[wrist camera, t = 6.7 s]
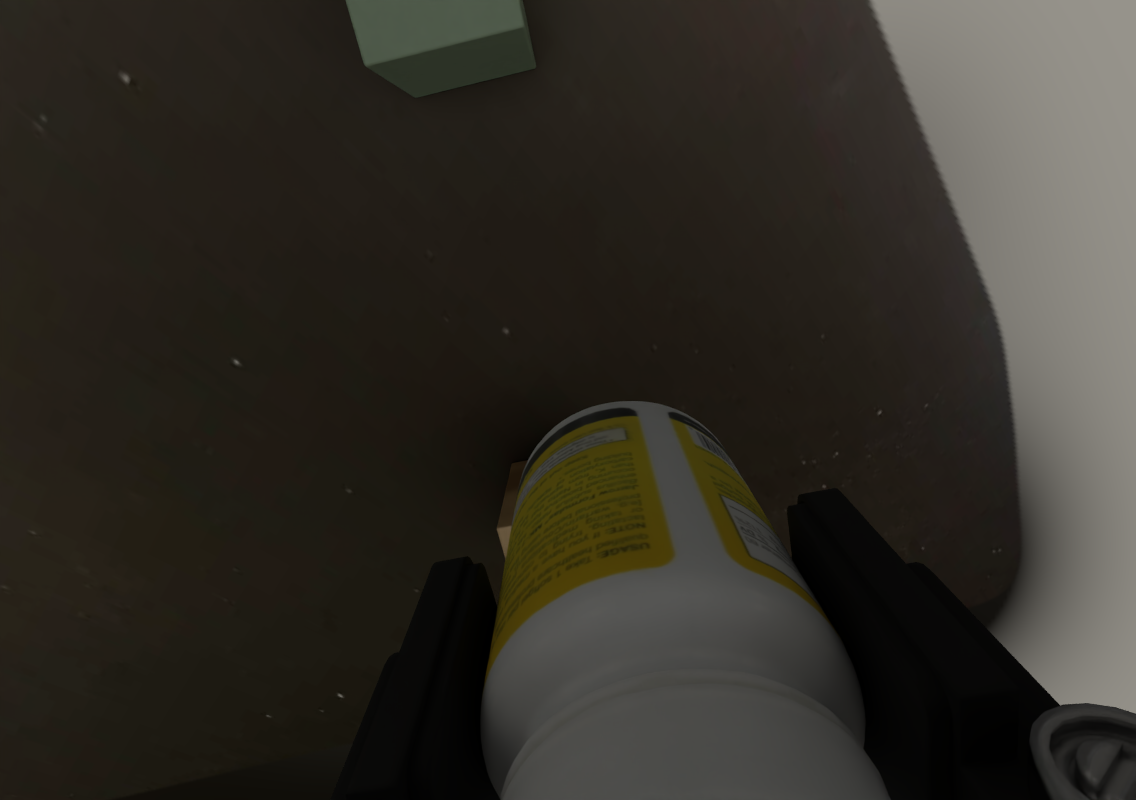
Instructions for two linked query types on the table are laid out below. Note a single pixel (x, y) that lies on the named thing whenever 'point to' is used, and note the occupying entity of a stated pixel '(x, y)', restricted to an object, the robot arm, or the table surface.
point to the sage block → (441, 41)
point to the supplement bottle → (661, 631)
